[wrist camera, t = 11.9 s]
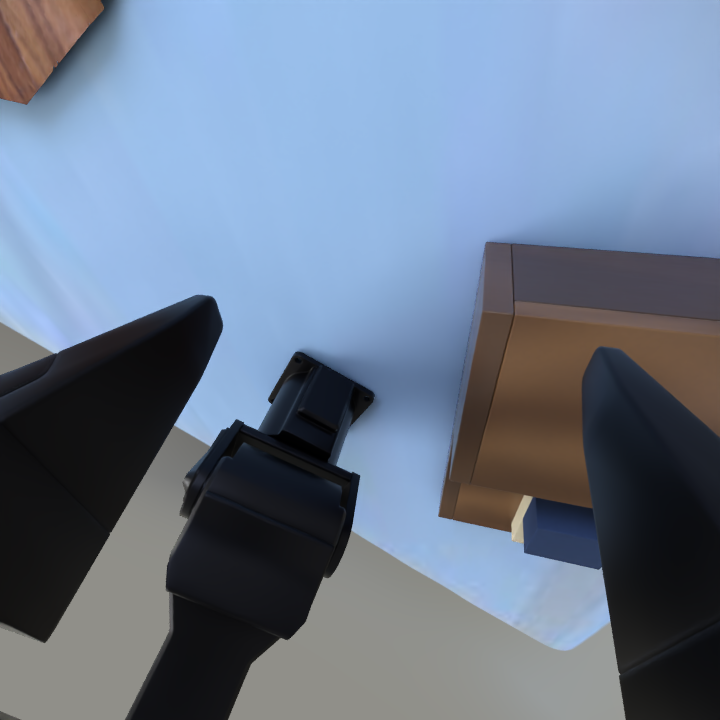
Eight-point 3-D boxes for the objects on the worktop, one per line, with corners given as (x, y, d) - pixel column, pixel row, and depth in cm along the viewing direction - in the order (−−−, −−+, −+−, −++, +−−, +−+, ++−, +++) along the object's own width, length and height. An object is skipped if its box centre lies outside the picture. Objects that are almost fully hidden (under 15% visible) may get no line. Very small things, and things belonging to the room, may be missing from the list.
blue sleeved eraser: (573, 536, 31) (580, 591, 28) (511, 522, 32) (512, 575, 29) (618, 470, 25) (633, 532, 22) (539, 457, 26) (544, 514, 23)
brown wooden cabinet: (642, 537, 33) (663, 620, 28) (440, 495, 36) (432, 564, 32) (893, 270, 16) (1030, 369, 12) (485, 241, 20) (481, 311, 16)
